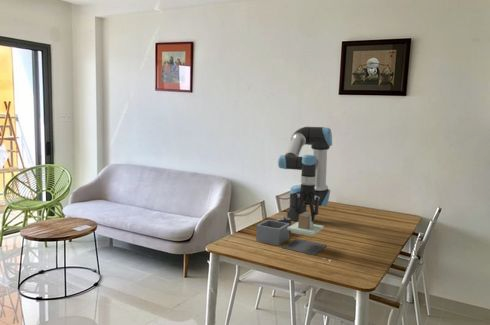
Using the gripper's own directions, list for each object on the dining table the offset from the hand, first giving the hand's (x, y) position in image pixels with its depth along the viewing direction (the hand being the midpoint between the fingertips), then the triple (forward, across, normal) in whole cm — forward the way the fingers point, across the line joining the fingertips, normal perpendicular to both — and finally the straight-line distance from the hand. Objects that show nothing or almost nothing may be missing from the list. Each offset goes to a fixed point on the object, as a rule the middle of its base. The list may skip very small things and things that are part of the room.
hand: (305, 226), depth 213 cm
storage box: (+12, -20, +1) cm, 23 cm away
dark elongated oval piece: (+12, -20, +15) cm, 28 cm away
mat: (+12, 0, 0) cm, 12 cm away
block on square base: (+3, 0, 0) cm, 3 cm away
